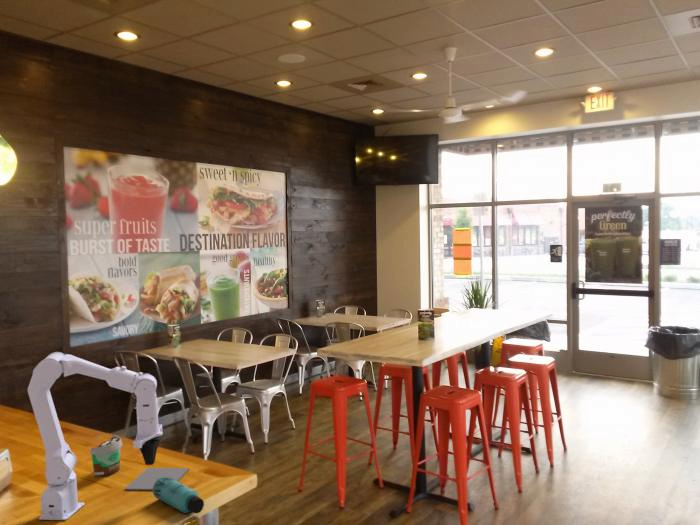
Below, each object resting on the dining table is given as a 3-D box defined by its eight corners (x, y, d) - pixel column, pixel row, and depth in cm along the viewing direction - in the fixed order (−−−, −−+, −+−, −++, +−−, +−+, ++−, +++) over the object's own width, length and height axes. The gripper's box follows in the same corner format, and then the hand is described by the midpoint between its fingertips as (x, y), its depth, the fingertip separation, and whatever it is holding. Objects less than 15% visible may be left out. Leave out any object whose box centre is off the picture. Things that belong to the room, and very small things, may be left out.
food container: (109, 480, 186) (107, 449, 185) (91, 479, 187) (89, 448, 187) (131, 464, 198) (129, 435, 197) (114, 463, 199) (113, 434, 199)
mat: (169, 490, 177) (169, 489, 177) (124, 490, 178) (124, 488, 178) (188, 469, 192) (188, 468, 192) (147, 469, 194) (147, 467, 194)
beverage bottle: (172, 482, 176) (213, 502, 163) (156, 502, 172) (196, 523, 159) (160, 469, 173) (200, 488, 160) (144, 488, 169) (184, 509, 156)
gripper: (149, 426, 163) (152, 474, 163) (171, 409, 177) (173, 454, 178) (125, 425, 163) (127, 474, 164) (148, 409, 178) (150, 454, 178)
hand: (150, 463), depth 171 cm, fingers closed
